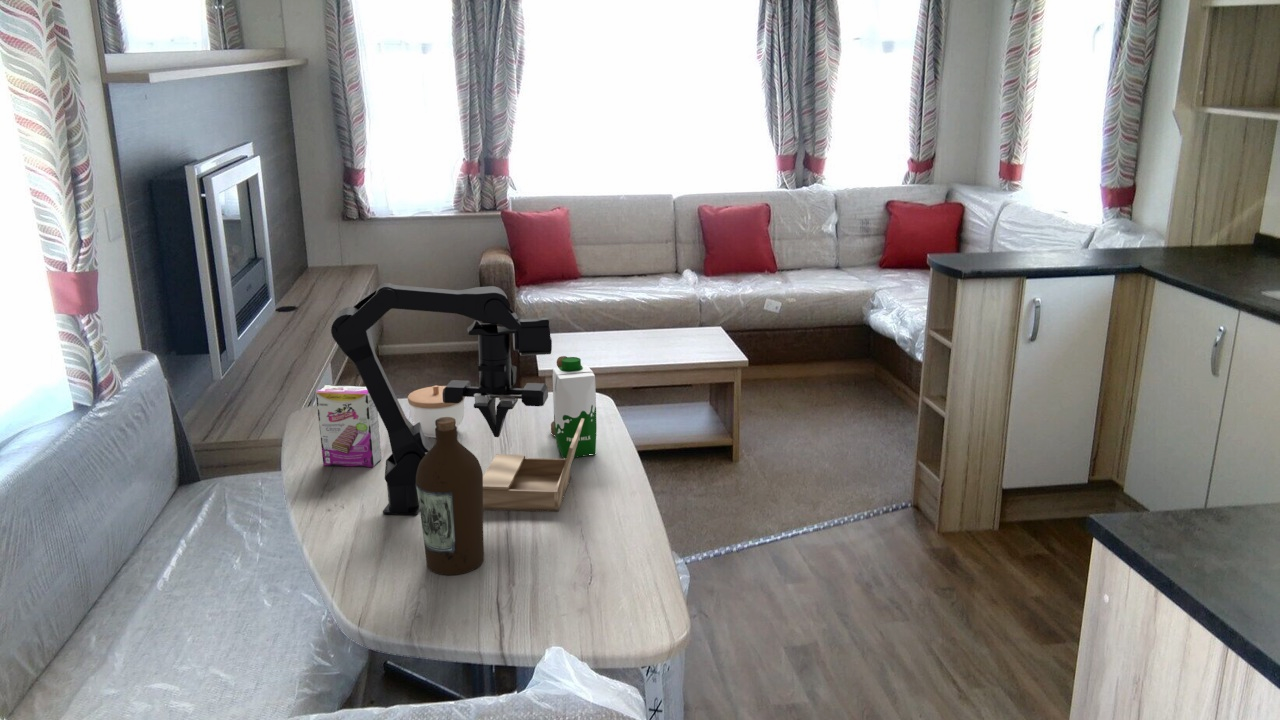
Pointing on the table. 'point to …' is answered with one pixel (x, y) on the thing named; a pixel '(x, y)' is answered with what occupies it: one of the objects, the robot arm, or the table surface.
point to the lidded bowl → (433, 408)
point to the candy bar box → (348, 426)
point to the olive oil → (451, 503)
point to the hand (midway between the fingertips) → (497, 436)
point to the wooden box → (531, 487)
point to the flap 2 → (570, 454)
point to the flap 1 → (502, 471)
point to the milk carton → (574, 406)
